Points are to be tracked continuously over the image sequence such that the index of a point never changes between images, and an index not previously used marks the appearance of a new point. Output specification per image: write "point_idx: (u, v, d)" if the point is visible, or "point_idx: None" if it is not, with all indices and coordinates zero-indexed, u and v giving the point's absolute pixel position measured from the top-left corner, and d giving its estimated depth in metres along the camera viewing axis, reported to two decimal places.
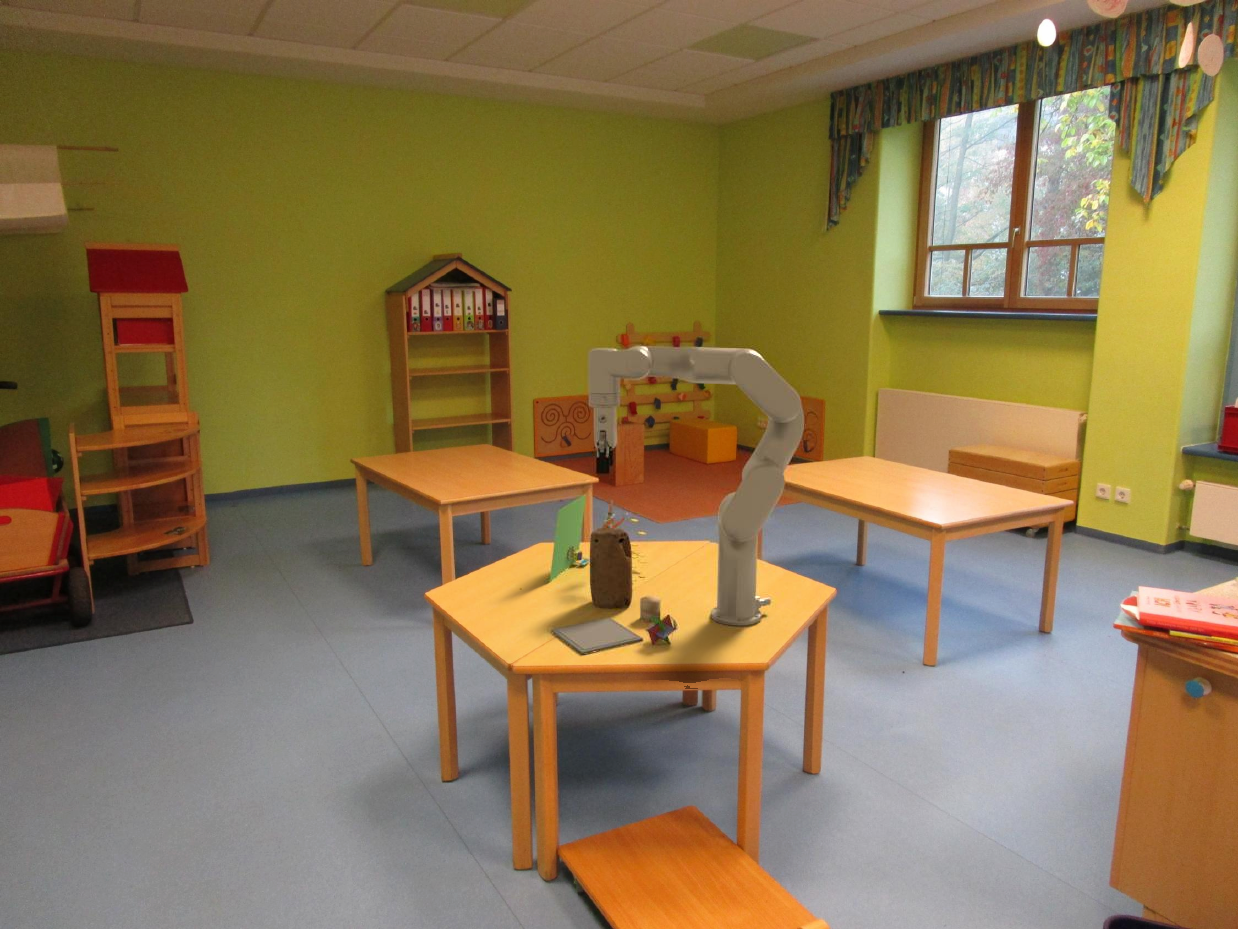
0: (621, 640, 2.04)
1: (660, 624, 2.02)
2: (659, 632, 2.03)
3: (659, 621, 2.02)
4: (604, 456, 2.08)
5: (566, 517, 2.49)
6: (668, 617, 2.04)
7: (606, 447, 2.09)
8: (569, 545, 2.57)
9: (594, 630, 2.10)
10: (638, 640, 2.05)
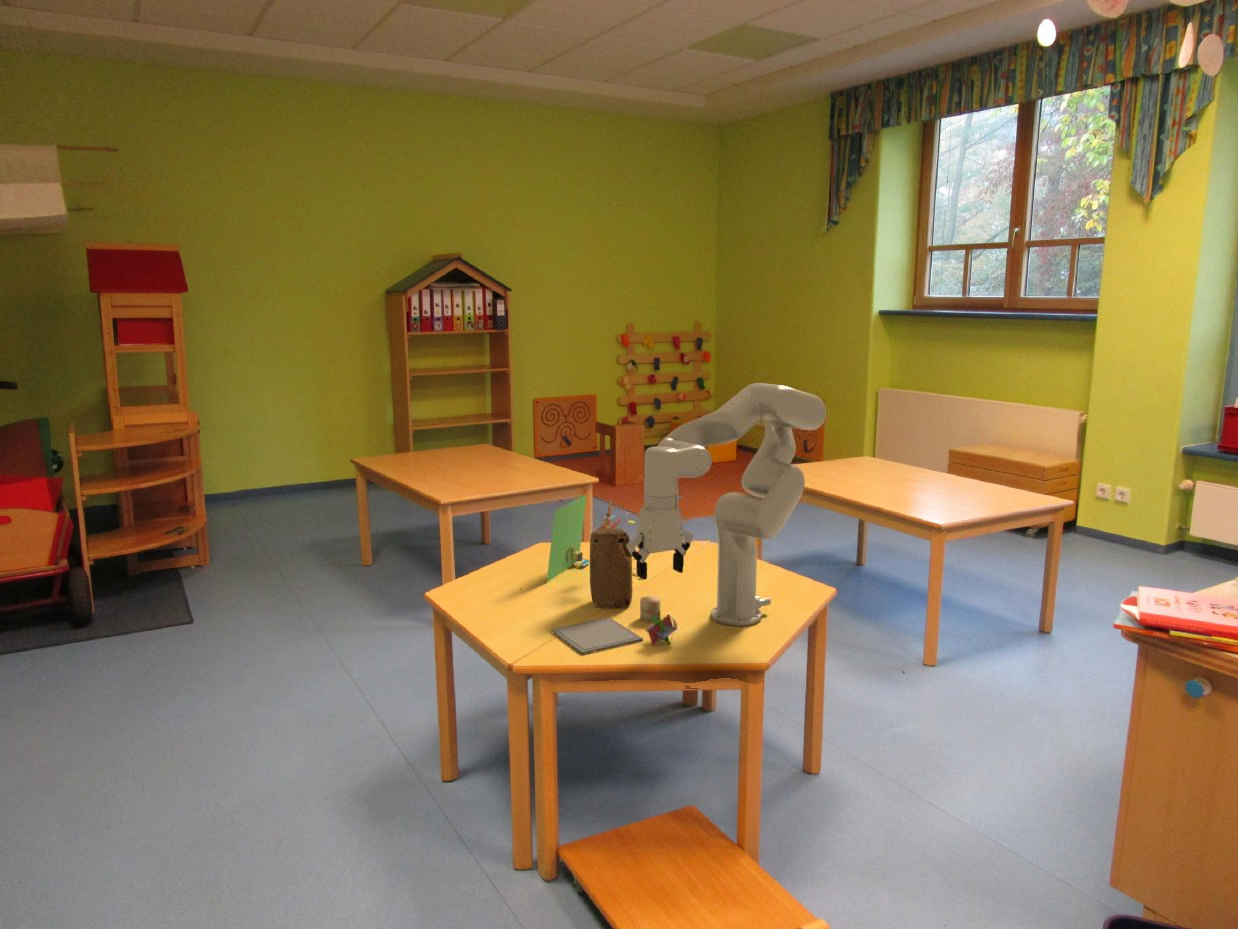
0: (621, 640, 2.04)
1: (660, 624, 2.02)
2: (659, 632, 2.03)
3: (659, 621, 2.02)
4: None
5: (564, 518, 2.49)
6: (668, 617, 2.04)
7: None
8: (568, 546, 2.56)
9: (594, 630, 2.10)
10: (638, 640, 2.05)
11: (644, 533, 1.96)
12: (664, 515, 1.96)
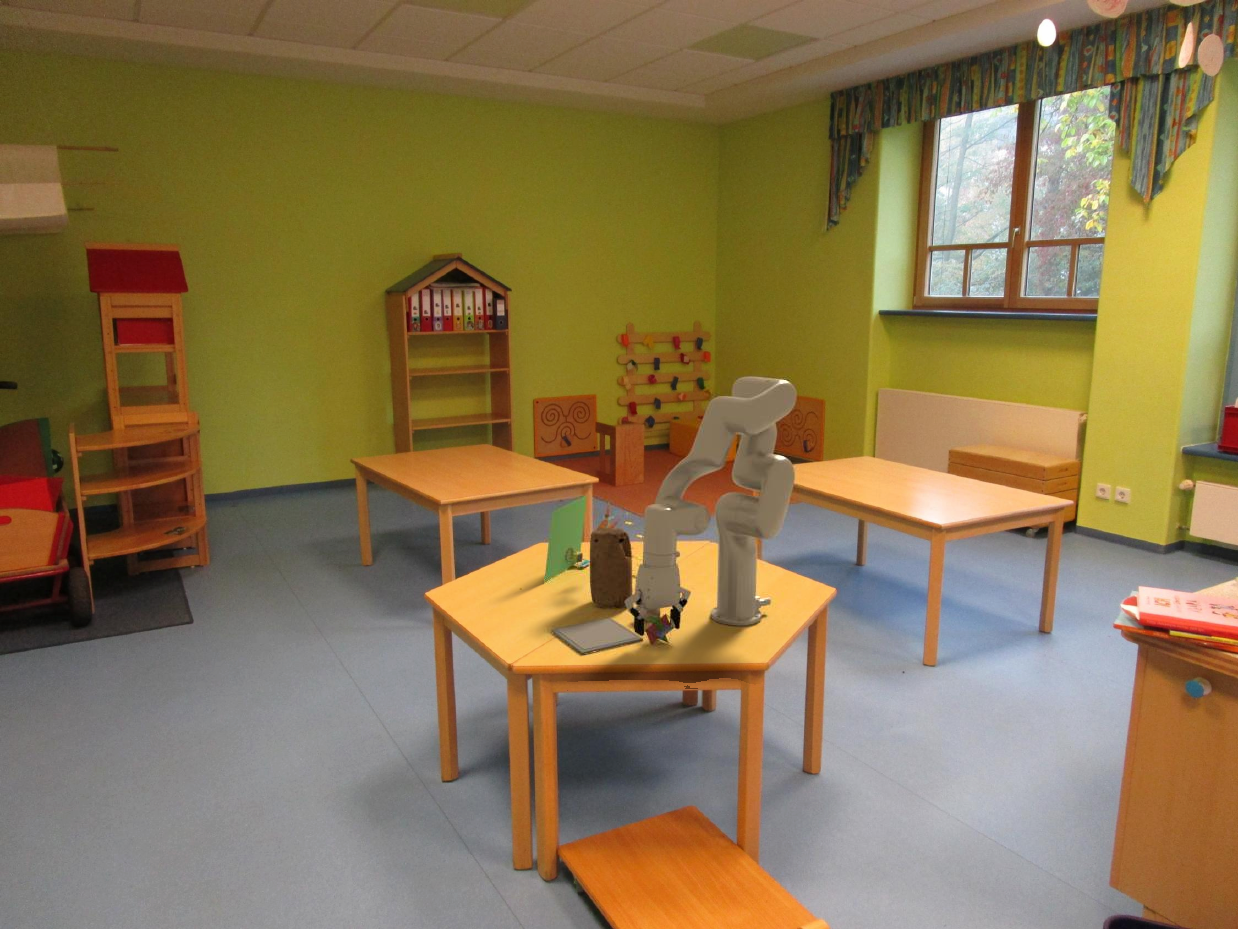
0: (621, 640, 2.04)
1: (657, 623, 2.02)
2: (657, 631, 2.03)
3: (656, 620, 2.02)
4: None
5: (563, 519, 2.48)
6: (665, 616, 2.04)
7: None
8: (568, 546, 2.55)
9: (594, 630, 2.10)
10: (638, 640, 2.05)
11: (643, 590, 1.97)
12: (662, 572, 1.98)
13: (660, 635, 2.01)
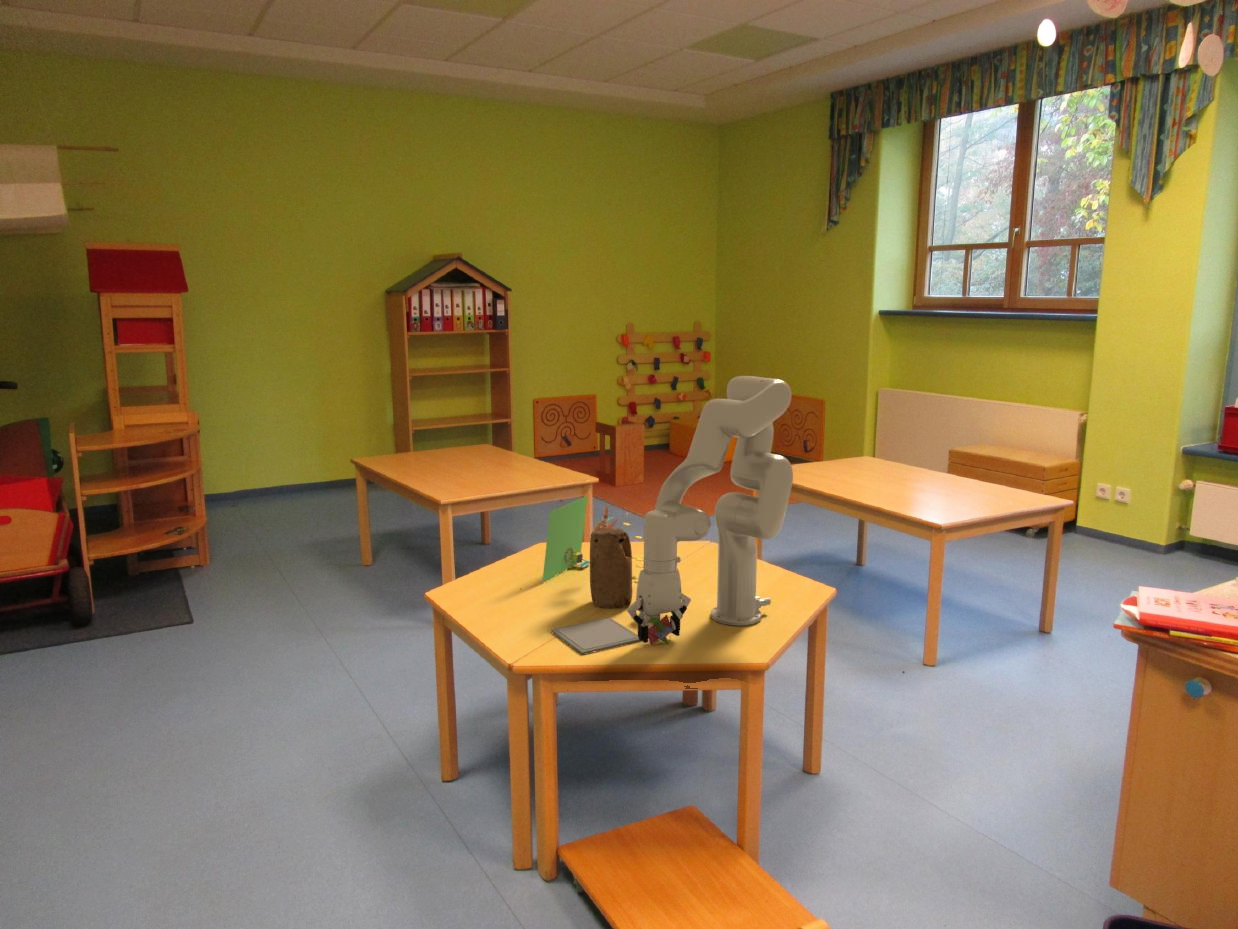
0: (621, 640, 2.04)
1: (658, 624, 2.02)
2: (657, 632, 2.02)
3: (657, 621, 2.02)
4: None
5: (562, 519, 2.48)
6: (666, 617, 2.04)
7: None
8: (567, 547, 2.55)
9: (594, 630, 2.10)
10: (638, 640, 2.05)
11: (644, 596, 1.98)
12: (663, 578, 1.98)
13: (660, 636, 2.01)
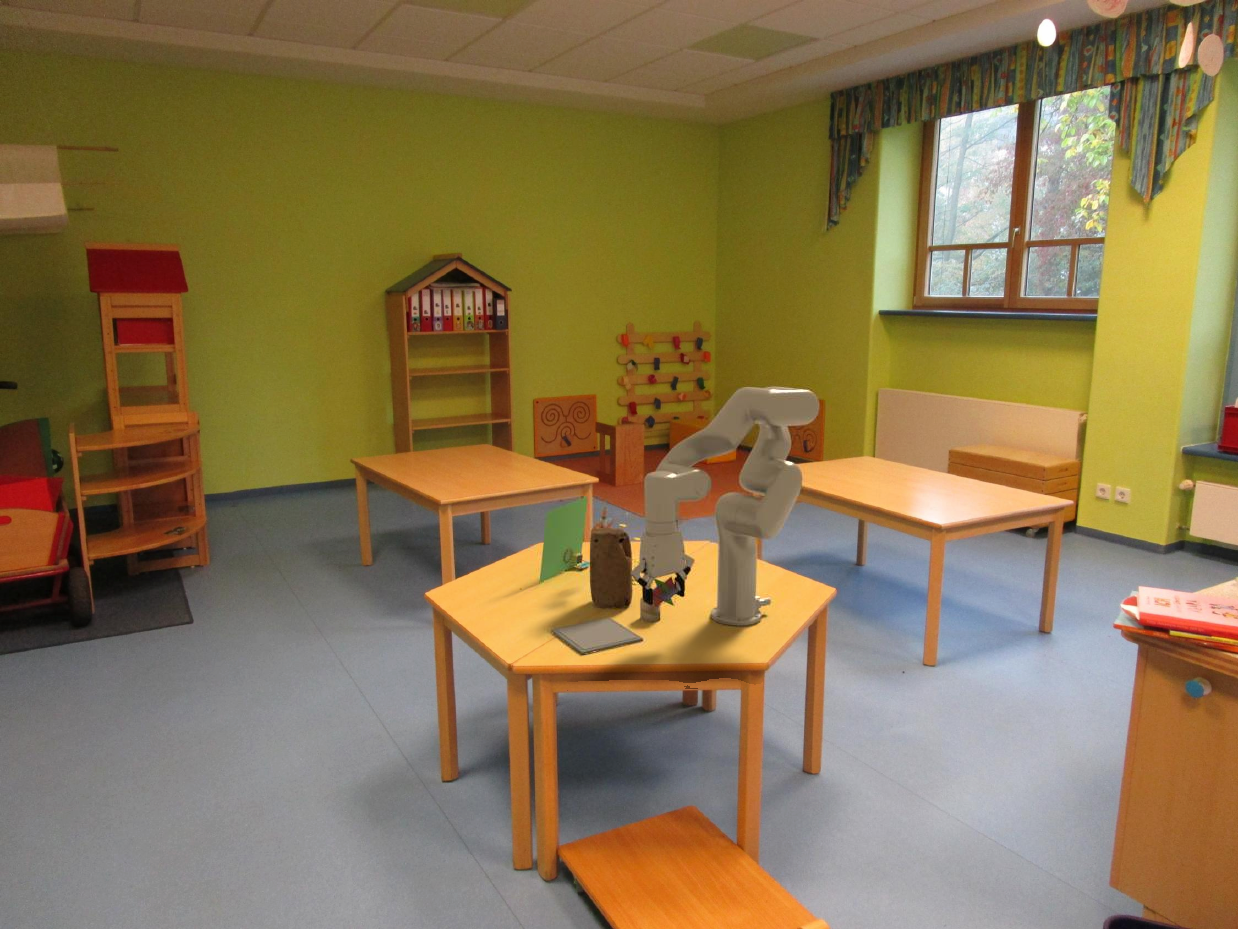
0: (621, 640, 2.04)
1: (663, 586, 2.01)
2: (662, 594, 2.02)
3: (662, 583, 2.01)
4: None
5: (560, 519, 2.47)
6: (671, 579, 2.03)
7: None
8: (566, 547, 2.54)
9: (594, 630, 2.10)
10: (638, 640, 2.05)
11: (647, 559, 1.97)
12: (665, 540, 1.97)
13: (665, 598, 2.00)
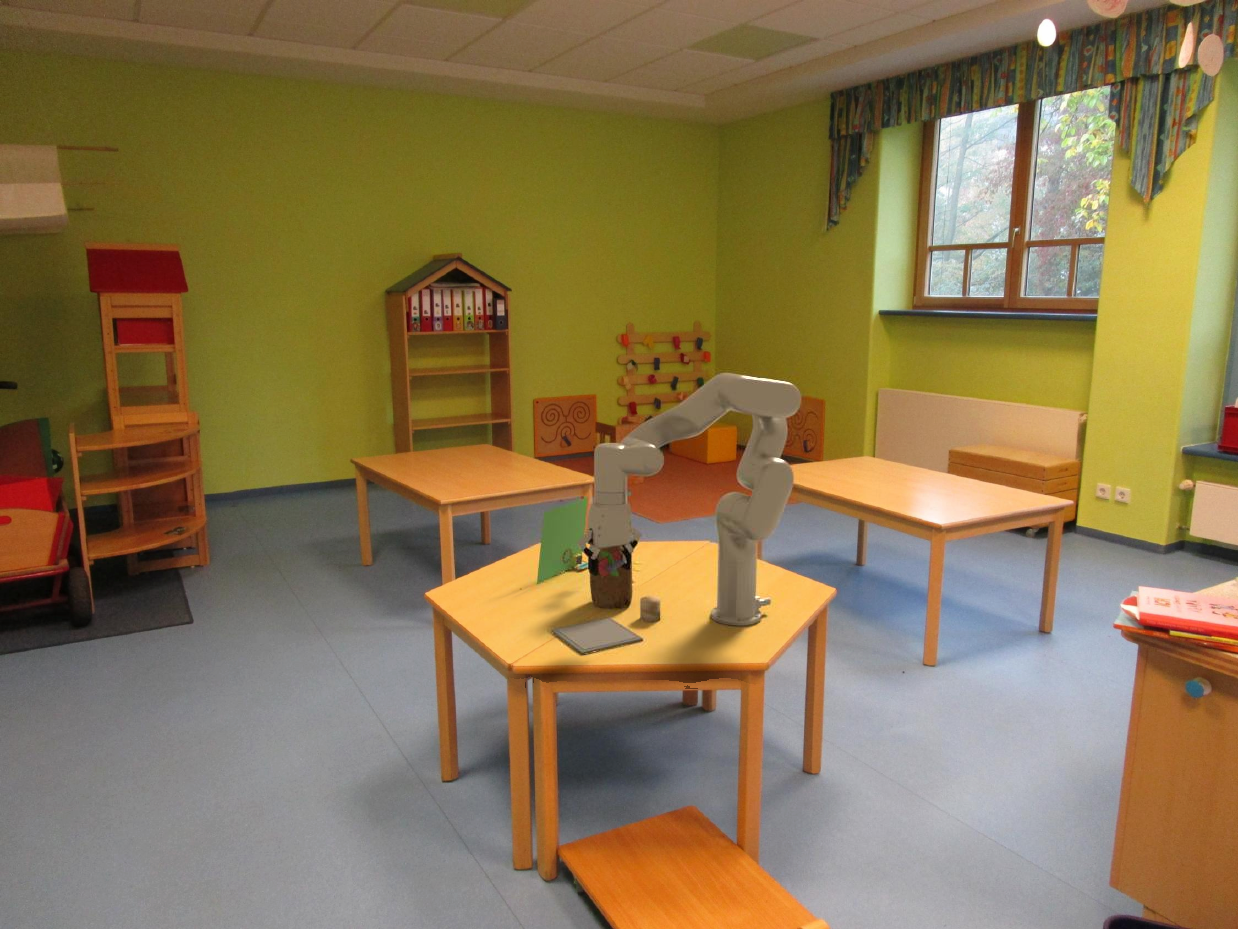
0: (621, 640, 2.04)
1: (609, 558, 2.02)
2: (608, 566, 2.03)
3: (608, 555, 2.02)
4: None
5: (558, 520, 2.47)
6: (617, 551, 2.04)
7: None
8: (565, 548, 2.54)
9: (594, 630, 2.10)
10: (638, 640, 2.05)
11: (594, 529, 1.98)
12: (613, 511, 1.98)
13: (611, 569, 2.01)
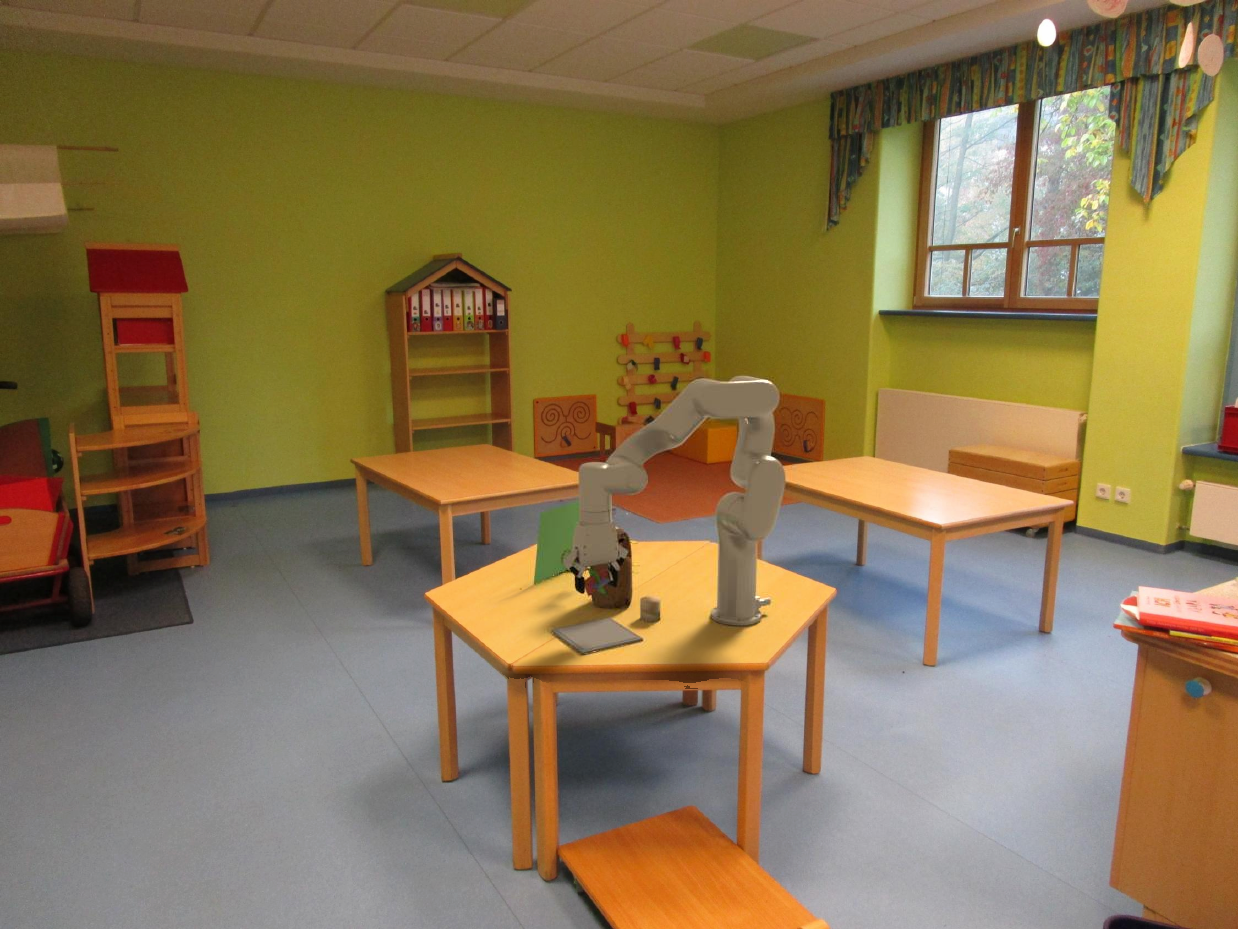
0: (621, 640, 2.04)
1: (595, 576, 2.04)
2: (594, 584, 2.05)
3: (594, 573, 2.04)
4: None
5: (556, 520, 2.46)
6: (604, 569, 2.06)
7: None
8: (564, 548, 2.53)
9: (594, 630, 2.10)
10: (638, 640, 2.05)
11: (579, 547, 2.00)
12: (598, 529, 2.00)
13: (597, 587, 2.03)
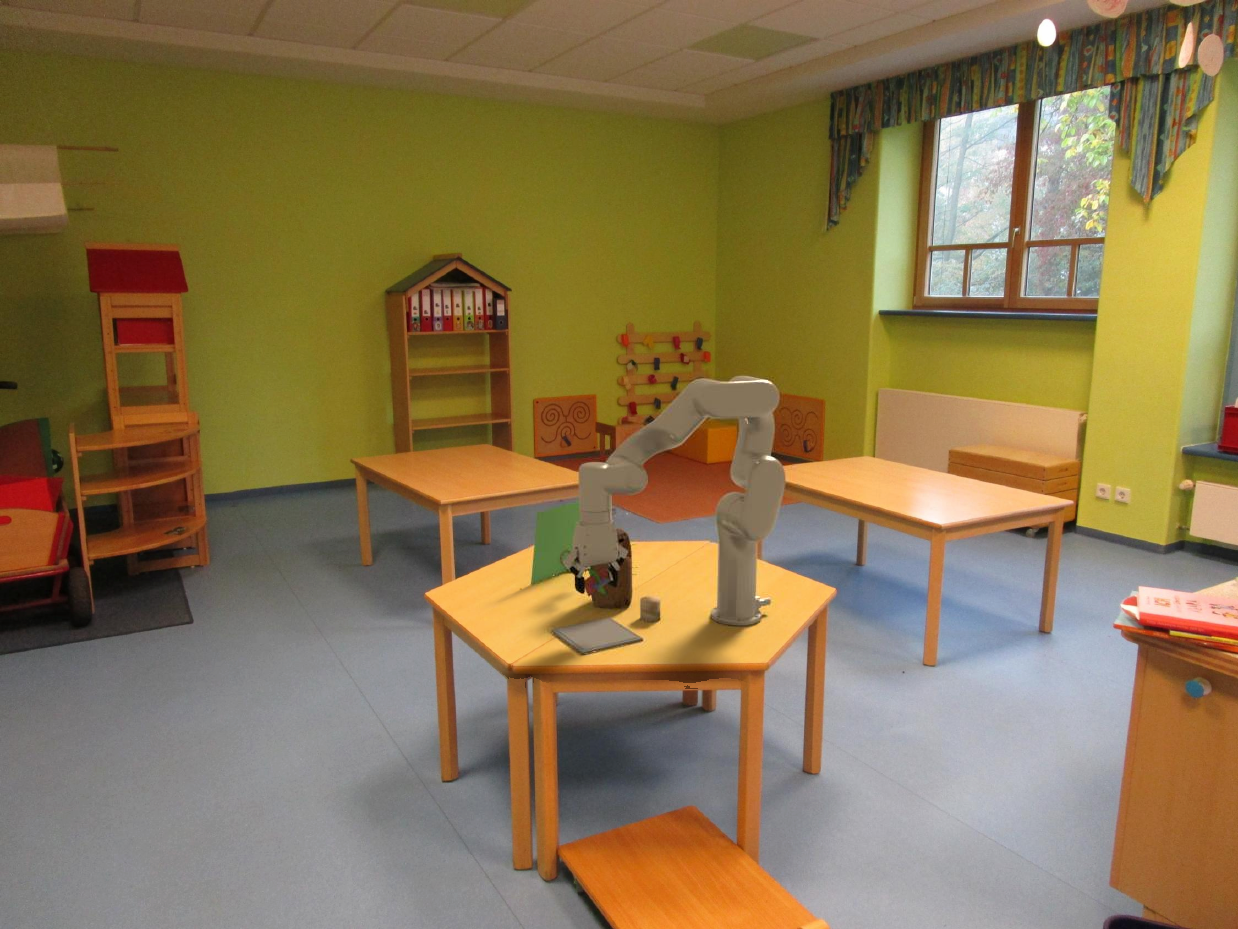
0: (621, 640, 2.04)
1: (595, 576, 2.04)
2: (594, 584, 2.05)
3: (594, 573, 2.04)
4: None
5: (554, 521, 2.46)
6: (604, 569, 2.06)
7: None
8: (563, 549, 2.53)
9: (594, 630, 2.10)
10: (638, 640, 2.05)
11: (579, 547, 2.00)
12: (598, 529, 2.00)
13: (597, 587, 2.03)
